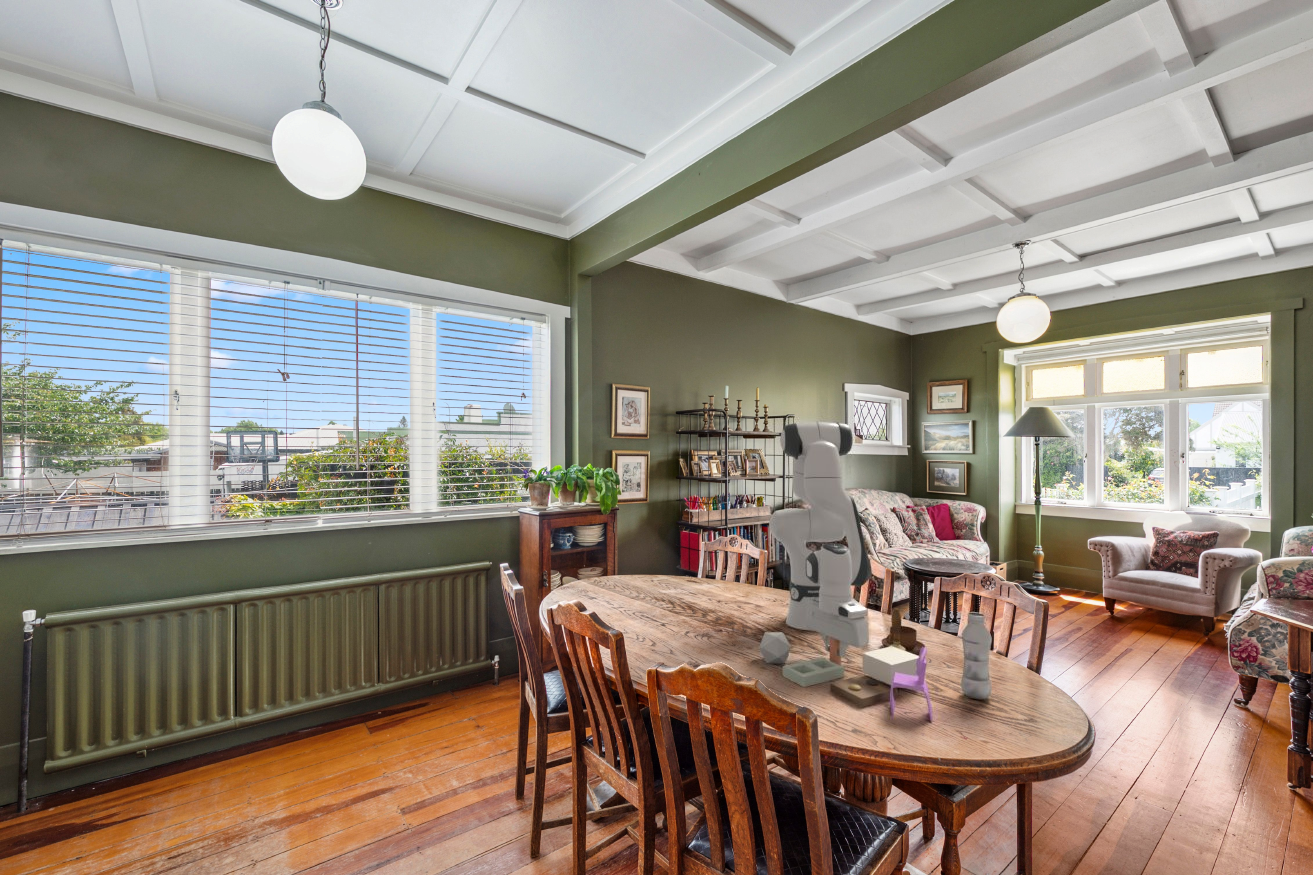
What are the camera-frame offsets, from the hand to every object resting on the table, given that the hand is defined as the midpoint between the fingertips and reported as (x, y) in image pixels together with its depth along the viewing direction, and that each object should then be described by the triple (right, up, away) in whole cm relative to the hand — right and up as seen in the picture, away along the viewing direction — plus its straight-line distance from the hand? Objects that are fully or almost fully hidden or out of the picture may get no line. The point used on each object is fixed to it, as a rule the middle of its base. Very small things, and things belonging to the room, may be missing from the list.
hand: (835, 653), depth 162 cm
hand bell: (+17, -4, -1) cm, 17 cm away
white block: (+10, 0, -14) cm, 17 cm away
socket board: (-8, -3, -8) cm, 12 cm away
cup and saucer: (+24, -4, +13) cm, 28 cm away
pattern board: (+1, -3, -19) cm, 19 cm away
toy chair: (+9, -3, -28) cm, 30 cm away
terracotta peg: (0, -3, 0) cm, 3 cm away
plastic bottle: (+28, -3, -20) cm, 35 cm away
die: (-16, -3, +3) cm, 17 cm away
